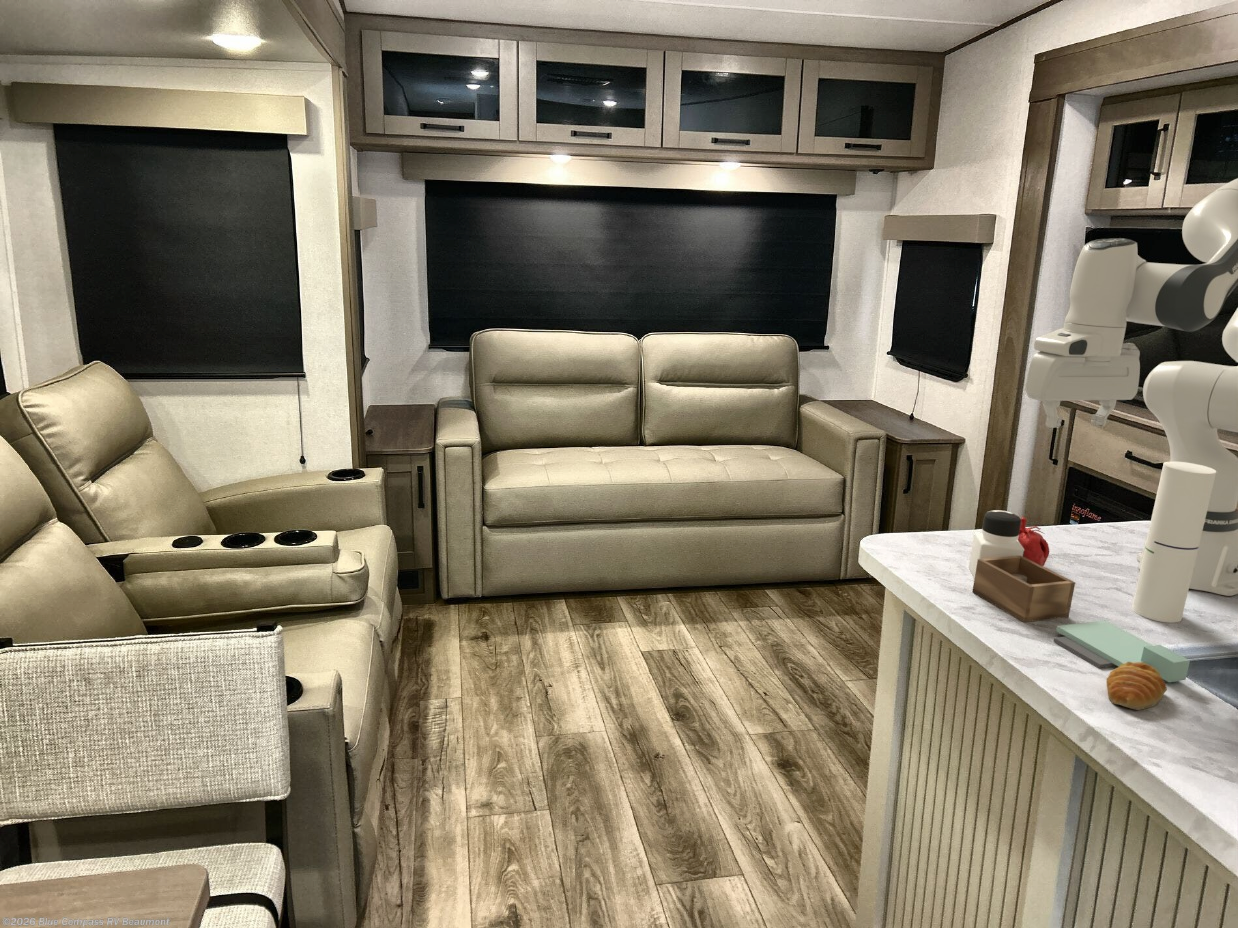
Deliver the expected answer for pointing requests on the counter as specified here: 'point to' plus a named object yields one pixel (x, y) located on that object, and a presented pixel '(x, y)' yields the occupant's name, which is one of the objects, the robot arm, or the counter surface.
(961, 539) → the counter surface
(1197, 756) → the counter surface
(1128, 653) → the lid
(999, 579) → the wooden box
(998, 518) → the medicine bottle
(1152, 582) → the cylindrical container
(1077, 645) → the mat
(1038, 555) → the pomegranate
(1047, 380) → the robot arm
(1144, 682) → the pastry
